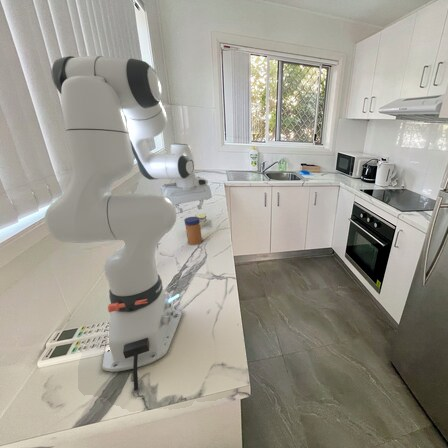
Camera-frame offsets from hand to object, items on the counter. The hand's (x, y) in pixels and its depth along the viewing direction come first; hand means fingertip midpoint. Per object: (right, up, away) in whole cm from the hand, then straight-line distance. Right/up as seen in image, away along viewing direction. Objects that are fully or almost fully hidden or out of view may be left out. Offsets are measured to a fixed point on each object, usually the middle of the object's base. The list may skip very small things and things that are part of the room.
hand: (190, 210), depth 113 cm
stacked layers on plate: (-5, -7, +25) cm, 27 cm away
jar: (0, -15, +6) cm, 16 cm away
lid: (0, -4, +2) cm, 5 cm away
